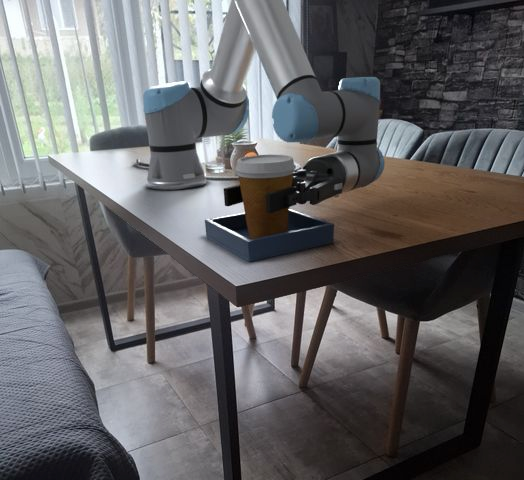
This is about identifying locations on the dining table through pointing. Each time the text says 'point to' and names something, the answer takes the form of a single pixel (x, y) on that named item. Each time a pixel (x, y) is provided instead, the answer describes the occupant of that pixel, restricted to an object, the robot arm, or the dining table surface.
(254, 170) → the disposable coffee cup
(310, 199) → the robot arm
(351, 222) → the dining table surface
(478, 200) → the dining table surface
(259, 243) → the tray
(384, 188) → the dining table surface
